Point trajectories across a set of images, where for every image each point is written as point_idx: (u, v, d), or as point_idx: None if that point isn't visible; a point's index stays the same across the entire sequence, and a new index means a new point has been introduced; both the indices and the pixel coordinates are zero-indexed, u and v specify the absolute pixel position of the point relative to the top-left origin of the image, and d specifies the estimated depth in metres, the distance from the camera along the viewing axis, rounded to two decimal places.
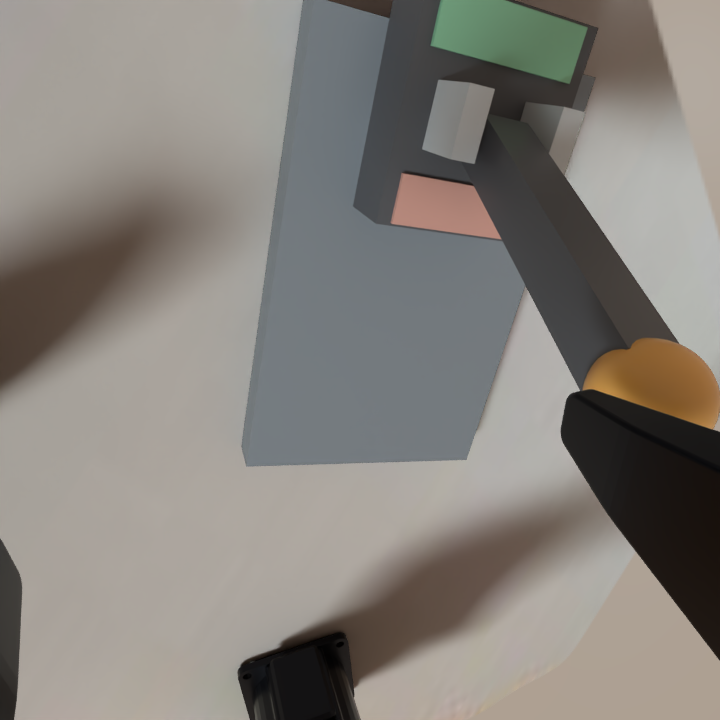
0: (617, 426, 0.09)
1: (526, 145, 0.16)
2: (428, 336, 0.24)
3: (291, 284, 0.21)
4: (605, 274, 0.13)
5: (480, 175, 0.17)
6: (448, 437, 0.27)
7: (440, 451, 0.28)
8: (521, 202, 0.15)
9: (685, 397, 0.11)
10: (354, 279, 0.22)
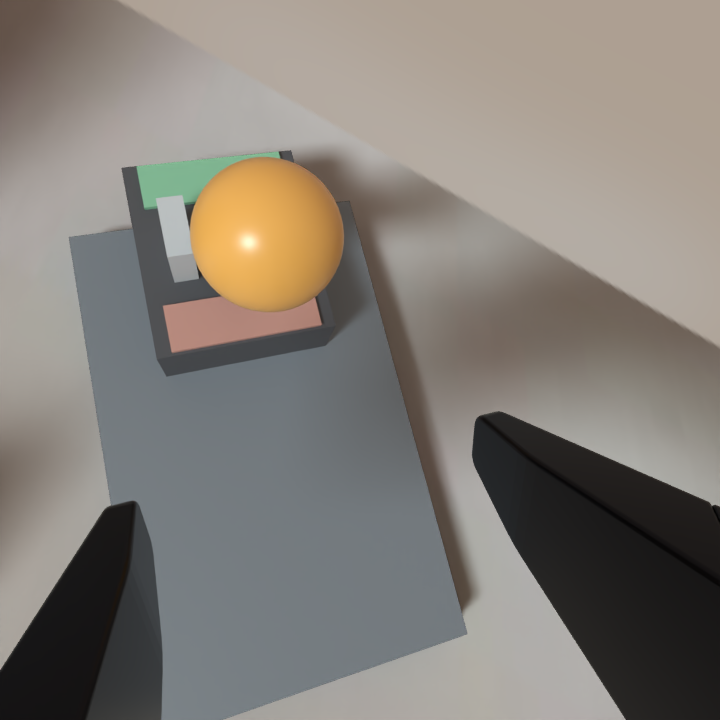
0: (516, 453, 0.08)
1: None
2: (317, 480, 0.21)
3: (128, 475, 0.19)
4: None
5: None
6: (420, 607, 0.20)
7: (421, 632, 0.20)
8: None
9: (235, 172, 0.09)
10: (198, 446, 0.20)
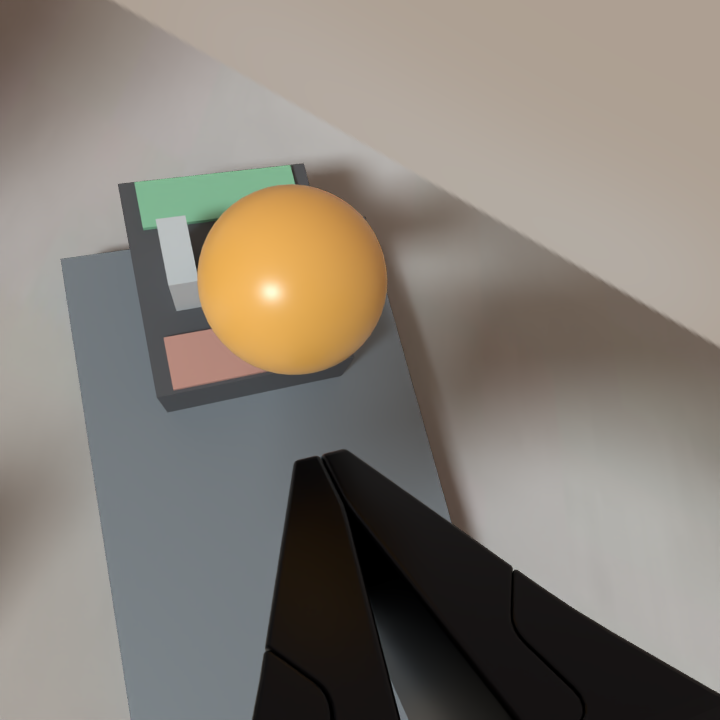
0: (342, 499, 0.08)
1: None
2: None
3: (125, 523, 0.18)
4: None
5: None
6: None
7: None
8: None
9: (255, 205, 0.07)
10: (203, 489, 0.18)
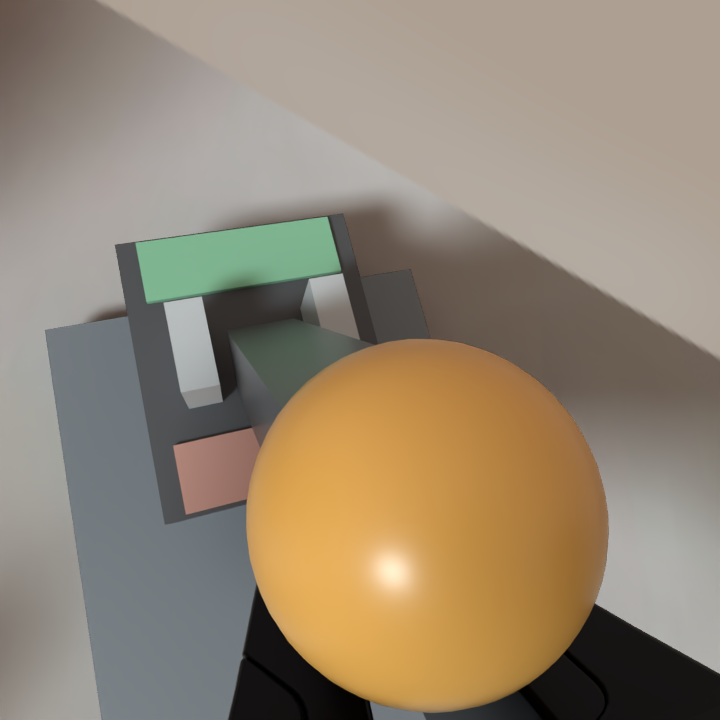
0: None
1: (272, 327, 0.12)
2: None
3: (125, 669, 0.14)
4: (314, 361, 0.07)
5: (240, 390, 0.12)
6: None
7: None
8: (242, 371, 0.10)
9: (374, 412, 0.03)
10: (220, 620, 0.15)
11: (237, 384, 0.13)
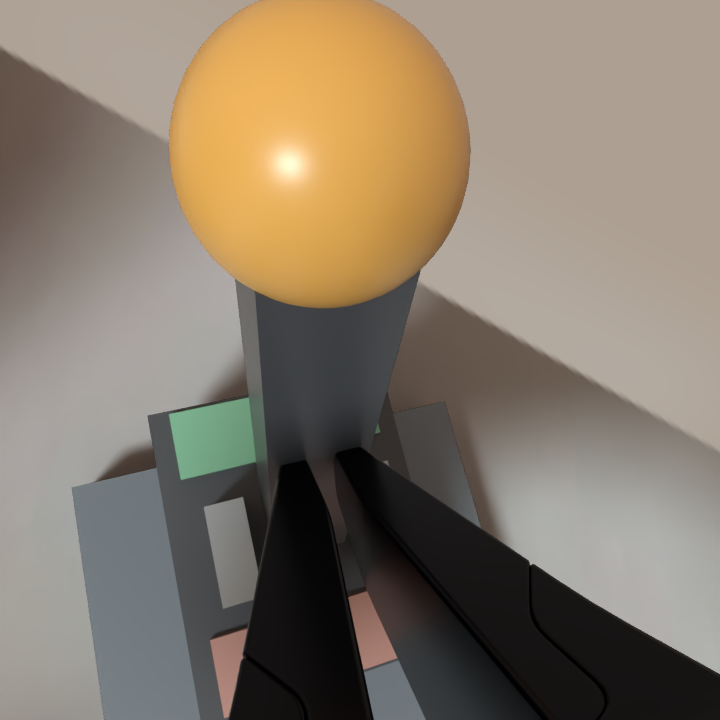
0: (357, 495, 0.08)
1: None
2: None
3: None
4: None
5: None
6: None
7: None
8: (256, 442, 0.10)
9: None
10: None
11: None
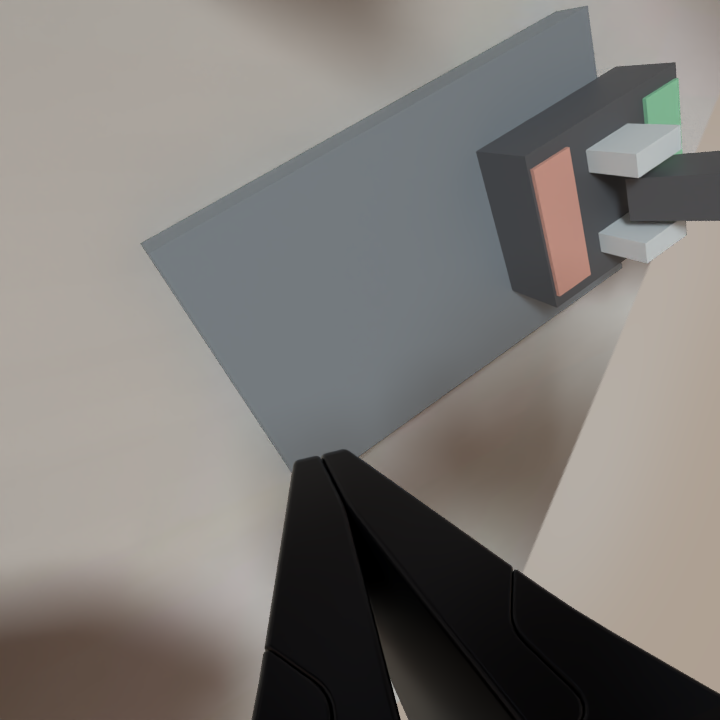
0: (342, 499, 0.08)
1: None
2: (406, 324, 0.22)
3: (387, 143, 0.18)
4: None
5: (675, 170, 0.18)
6: (320, 449, 0.22)
7: (300, 458, 0.21)
8: None
9: None
10: (420, 205, 0.20)
11: None
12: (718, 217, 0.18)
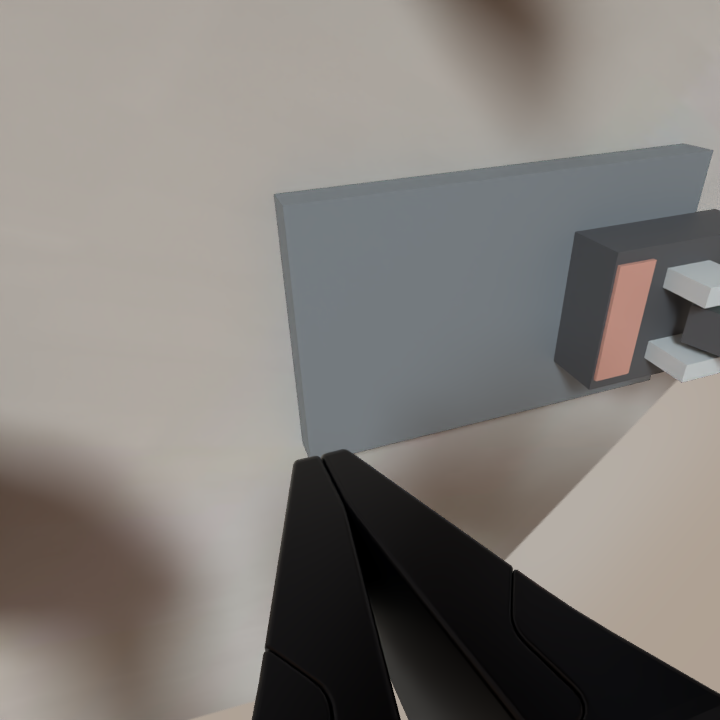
0: (342, 499, 0.08)
1: None
2: (456, 353, 0.24)
3: (508, 196, 0.21)
4: None
5: None
6: (339, 430, 0.24)
7: (320, 430, 0.23)
8: None
9: None
10: (512, 257, 0.22)
11: None
12: None
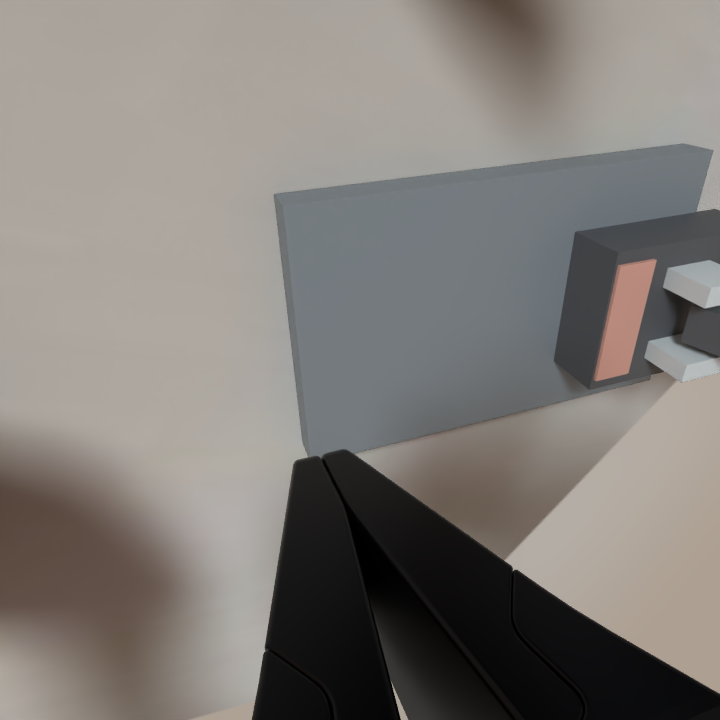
0: (342, 499, 0.08)
1: None
2: (456, 353, 0.24)
3: (508, 196, 0.21)
4: None
5: None
6: (339, 430, 0.24)
7: (320, 430, 0.23)
8: None
9: None
10: (512, 257, 0.22)
11: None
12: None
